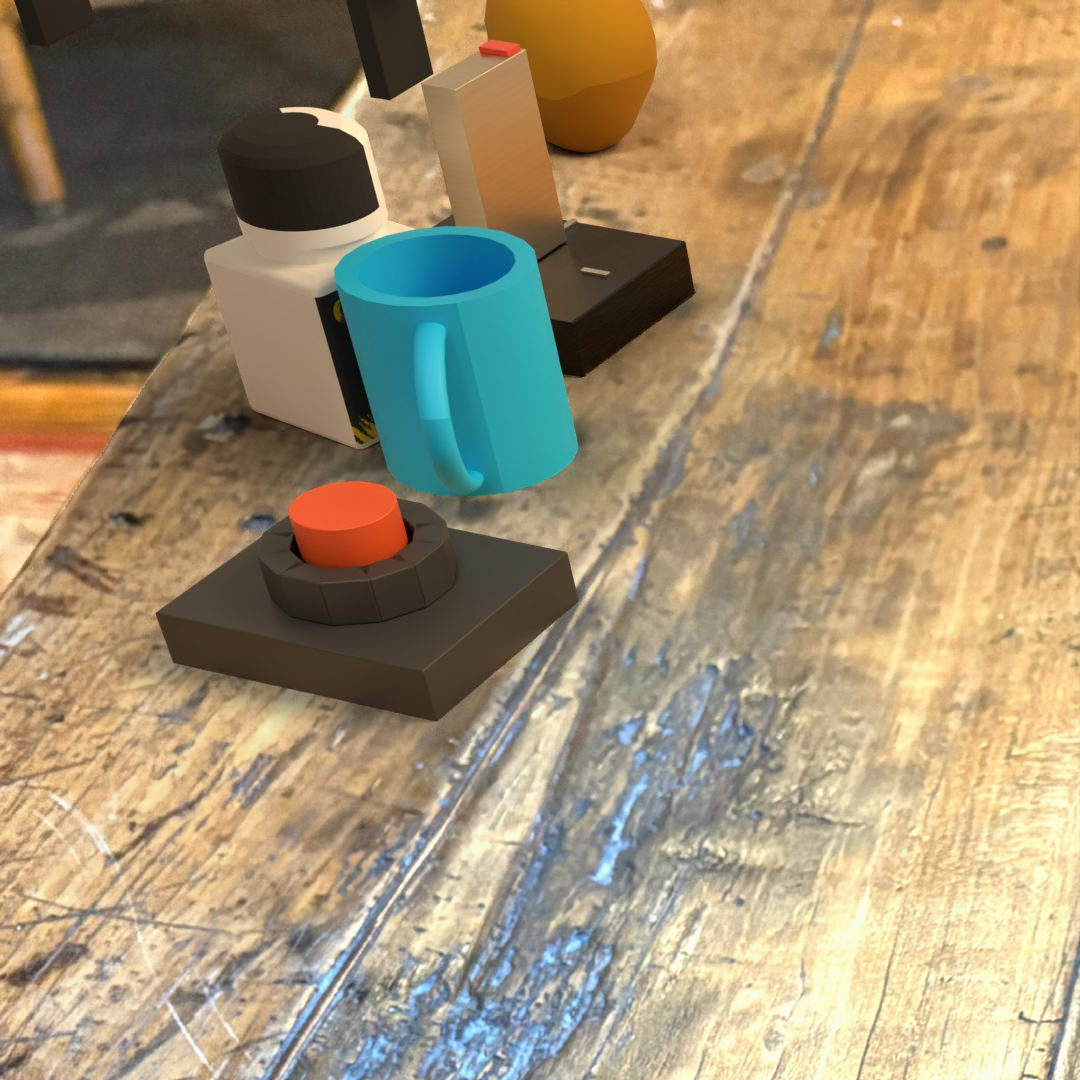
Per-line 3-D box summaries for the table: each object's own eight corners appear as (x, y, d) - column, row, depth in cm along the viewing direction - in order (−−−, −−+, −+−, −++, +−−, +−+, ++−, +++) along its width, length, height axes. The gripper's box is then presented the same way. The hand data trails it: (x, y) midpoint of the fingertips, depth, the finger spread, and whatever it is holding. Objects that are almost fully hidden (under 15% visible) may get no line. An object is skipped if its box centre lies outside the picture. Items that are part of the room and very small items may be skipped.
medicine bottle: (361, 454, 116) (279, 169, 107) (248, 412, 118) (159, 130, 109) (482, 394, 120) (413, 116, 111) (371, 355, 122) (295, 79, 114)
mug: (399, 416, 118) (347, 229, 112) (586, 408, 119) (545, 222, 113) (362, 545, 110) (305, 351, 104) (564, 535, 111) (518, 342, 105)
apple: (708, 134, 142) (676, -47, 136) (590, 183, 137) (551, -3, 131) (595, 99, 145) (559, -80, 139) (476, 145, 140) (433, -38, 134)
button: (279, 561, 102) (265, 518, 100) (342, 515, 104) (329, 473, 103) (368, 580, 101) (355, 537, 100) (429, 533, 104) (417, 491, 102)
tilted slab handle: (501, 284, 122) (453, 83, 116) (468, 278, 123) (418, 77, 116) (567, 240, 126) (524, 43, 119) (535, 234, 126) (490, 37, 120)
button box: (172, 664, 103) (138, 568, 100) (327, 549, 110) (299, 456, 107) (437, 723, 101) (409, 627, 98) (580, 601, 107) (557, 508, 104)
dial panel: (360, 334, 124) (344, 277, 122) (481, 254, 131) (468, 199, 129) (584, 377, 121) (571, 319, 120) (696, 293, 128) (685, 237, 126)
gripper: (456, -709, 77) (605, 71, 92) (-261, -775, 81) (-5, -21, 97) (305, -671, 72) (490, 147, 87) (-449, -744, 76) (-147, 46, 92)
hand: (230, 60), depth 92 cm, fingers open, 13 cm apart
